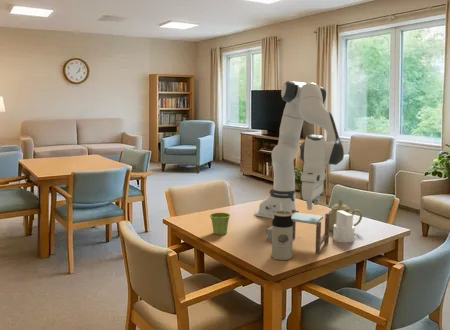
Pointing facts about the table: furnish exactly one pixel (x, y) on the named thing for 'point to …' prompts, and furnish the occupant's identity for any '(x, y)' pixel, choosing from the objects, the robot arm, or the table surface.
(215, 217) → the plant pot
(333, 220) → the olive teapot
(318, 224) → the frame
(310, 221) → the trapdoor
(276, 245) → the travel mug
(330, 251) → the table surface
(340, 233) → the base with upright slab
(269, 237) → the stone
